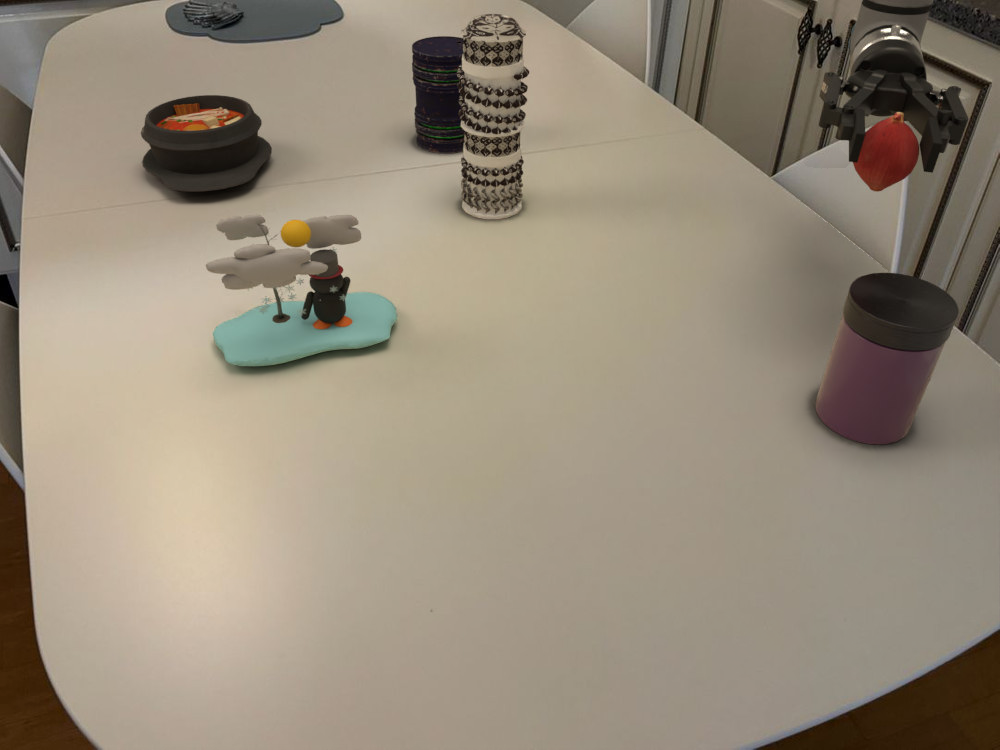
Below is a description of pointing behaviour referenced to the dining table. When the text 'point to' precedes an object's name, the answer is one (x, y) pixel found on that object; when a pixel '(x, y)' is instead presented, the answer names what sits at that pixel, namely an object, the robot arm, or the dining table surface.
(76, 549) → the dining table surface
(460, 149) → the storage jar
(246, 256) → the penguin figurine
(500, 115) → the decorative candle
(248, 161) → the casserole
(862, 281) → the jar lid
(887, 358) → the jar
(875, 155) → the red pomegranate
